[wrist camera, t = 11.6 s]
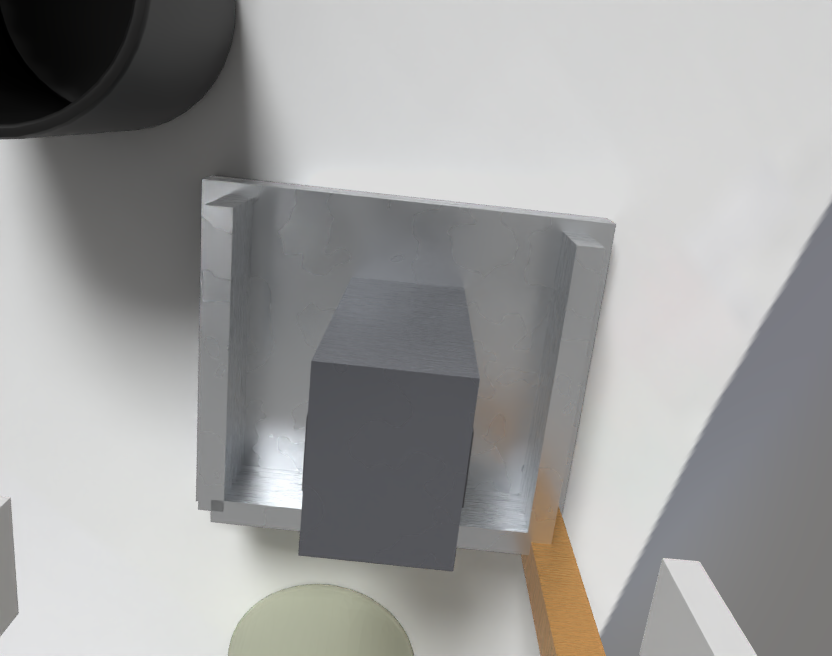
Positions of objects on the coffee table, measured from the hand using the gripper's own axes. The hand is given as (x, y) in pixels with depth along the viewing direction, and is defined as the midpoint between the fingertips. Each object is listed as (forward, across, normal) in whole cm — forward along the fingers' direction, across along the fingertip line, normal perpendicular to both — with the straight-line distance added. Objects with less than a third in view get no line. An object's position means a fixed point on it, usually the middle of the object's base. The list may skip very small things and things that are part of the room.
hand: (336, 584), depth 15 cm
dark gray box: (+16, +1, 0) cm, 16 cm away
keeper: (+17, +1, -1) cm, 17 cm away
